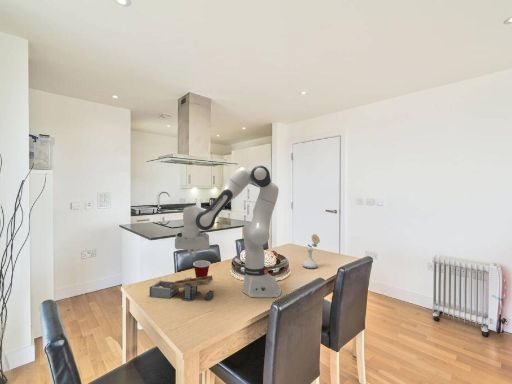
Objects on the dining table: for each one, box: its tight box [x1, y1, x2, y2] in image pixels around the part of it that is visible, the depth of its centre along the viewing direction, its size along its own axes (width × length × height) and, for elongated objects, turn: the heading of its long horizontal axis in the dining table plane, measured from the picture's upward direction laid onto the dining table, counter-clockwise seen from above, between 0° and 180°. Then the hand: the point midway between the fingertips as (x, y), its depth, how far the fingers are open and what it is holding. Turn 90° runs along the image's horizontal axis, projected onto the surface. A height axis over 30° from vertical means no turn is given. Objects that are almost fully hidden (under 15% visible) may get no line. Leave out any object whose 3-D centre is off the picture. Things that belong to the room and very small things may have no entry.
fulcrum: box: [181, 285, 202, 302], centre depth 139 cm, size 6×11×8 cm, turn 169°
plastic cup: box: [192, 260, 211, 278], centre depth 160 cm, size 11×11×12 cm
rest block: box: [205, 289, 215, 301], centre depth 137 cm, size 2×5×3 cm, turn 169°
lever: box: [170, 275, 213, 290], centre depth 142 cm, size 22×14×2 cm, turn 79°
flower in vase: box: [301, 233, 320, 269], centre depth 192 cm, size 13×11×25 cm
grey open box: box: [149, 280, 180, 299], centre depth 142 cm, size 12×10×5 cm
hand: (192, 256), depth 147 cm, fingers closed
